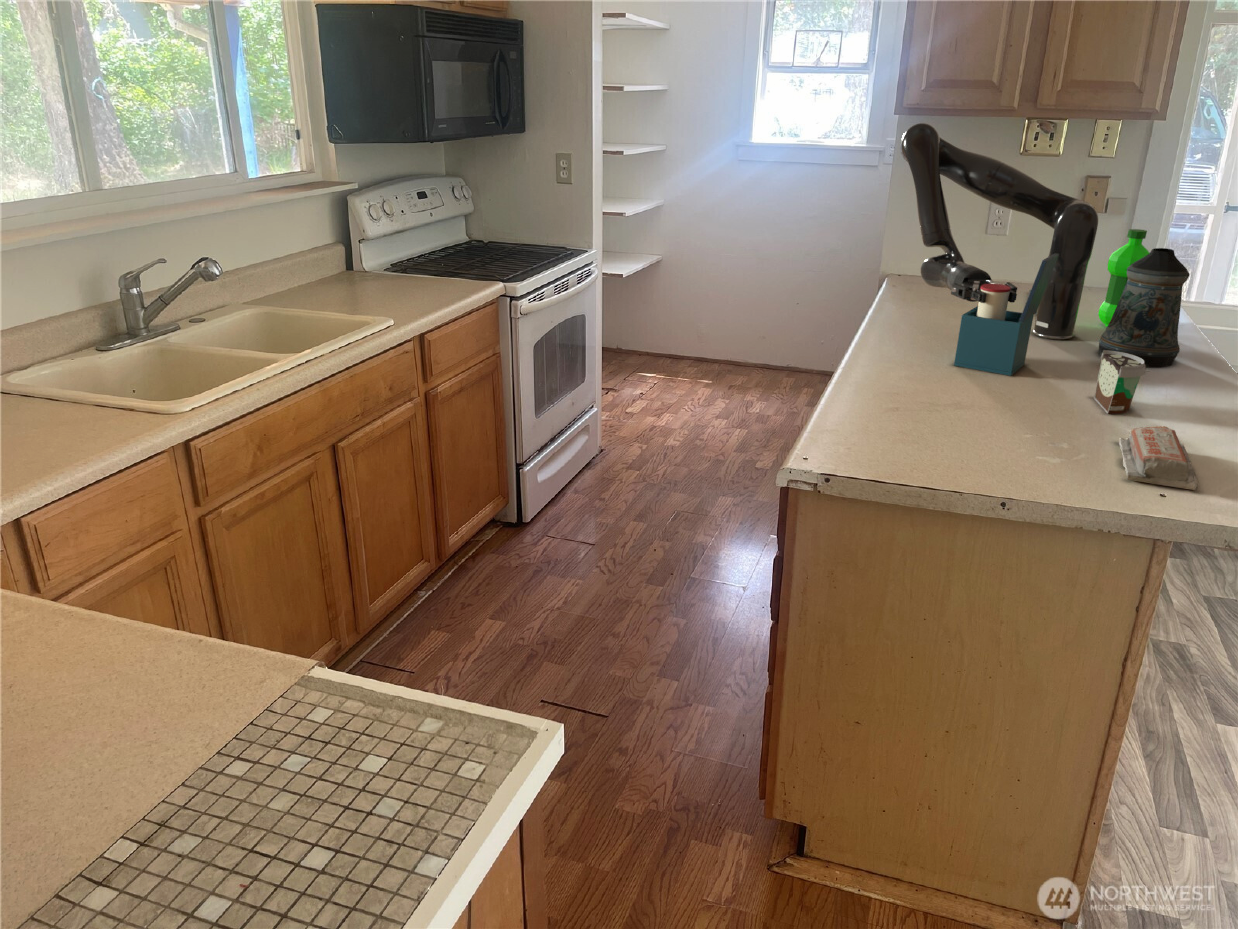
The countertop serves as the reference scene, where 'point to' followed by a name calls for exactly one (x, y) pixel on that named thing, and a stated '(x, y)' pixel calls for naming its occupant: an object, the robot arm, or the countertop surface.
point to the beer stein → (1149, 310)
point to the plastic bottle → (1121, 271)
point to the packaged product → (1157, 458)
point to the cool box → (993, 342)
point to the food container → (1118, 381)
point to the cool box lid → (1039, 287)
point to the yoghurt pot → (994, 301)
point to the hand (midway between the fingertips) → (999, 298)
